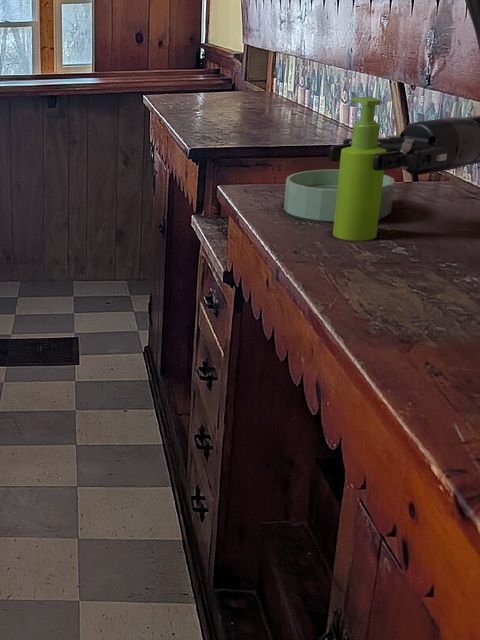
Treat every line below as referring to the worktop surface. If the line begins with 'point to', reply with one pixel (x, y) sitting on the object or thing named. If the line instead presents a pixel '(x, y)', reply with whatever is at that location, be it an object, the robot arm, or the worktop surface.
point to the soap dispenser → (359, 179)
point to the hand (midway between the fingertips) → (352, 158)
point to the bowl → (324, 195)
